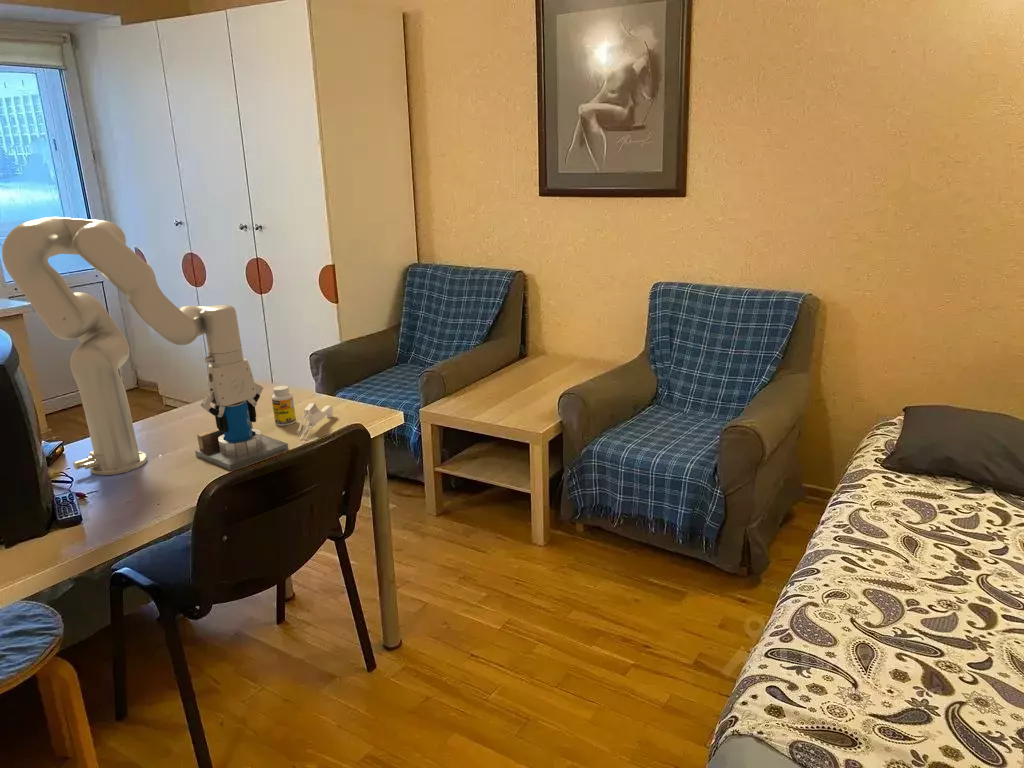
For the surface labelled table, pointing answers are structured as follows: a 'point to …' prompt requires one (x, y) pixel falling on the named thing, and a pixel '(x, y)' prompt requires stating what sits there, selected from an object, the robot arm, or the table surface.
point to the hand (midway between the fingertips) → (237, 425)
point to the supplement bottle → (283, 406)
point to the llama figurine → (314, 417)
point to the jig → (236, 448)
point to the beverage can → (237, 422)
